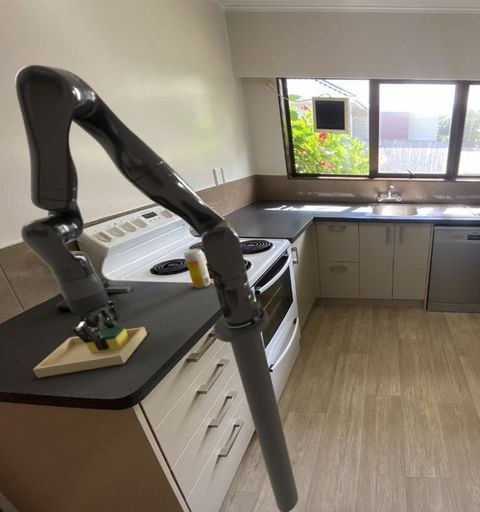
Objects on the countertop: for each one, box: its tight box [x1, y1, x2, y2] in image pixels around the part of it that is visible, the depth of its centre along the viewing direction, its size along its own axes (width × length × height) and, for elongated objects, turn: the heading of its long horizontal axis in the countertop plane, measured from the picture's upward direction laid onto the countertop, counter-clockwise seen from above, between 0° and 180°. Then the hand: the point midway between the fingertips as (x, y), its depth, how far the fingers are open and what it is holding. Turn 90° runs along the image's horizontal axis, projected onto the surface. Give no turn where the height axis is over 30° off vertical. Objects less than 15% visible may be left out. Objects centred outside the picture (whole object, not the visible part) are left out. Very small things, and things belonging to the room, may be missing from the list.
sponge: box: [86, 325, 129, 353], centre depth 81 cm, size 7×5×4 cm, turn 104°
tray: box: [32, 326, 148, 379], centre depth 79 cm, size 19×13×3 cm
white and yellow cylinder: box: [183, 247, 212, 289], centre depth 113 cm, size 6×6×15 cm
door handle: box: [55, 278, 132, 312], centre depth 108 cm, size 3×20×16 cm
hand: (110, 343), depth 81 cm, fingers closed on sponge, 4 cm apart
